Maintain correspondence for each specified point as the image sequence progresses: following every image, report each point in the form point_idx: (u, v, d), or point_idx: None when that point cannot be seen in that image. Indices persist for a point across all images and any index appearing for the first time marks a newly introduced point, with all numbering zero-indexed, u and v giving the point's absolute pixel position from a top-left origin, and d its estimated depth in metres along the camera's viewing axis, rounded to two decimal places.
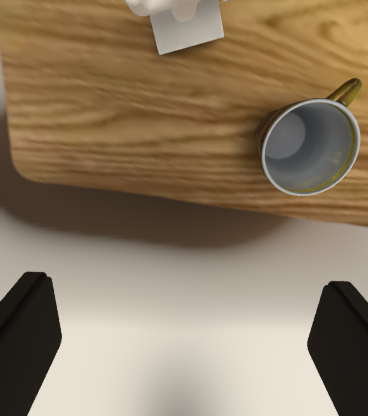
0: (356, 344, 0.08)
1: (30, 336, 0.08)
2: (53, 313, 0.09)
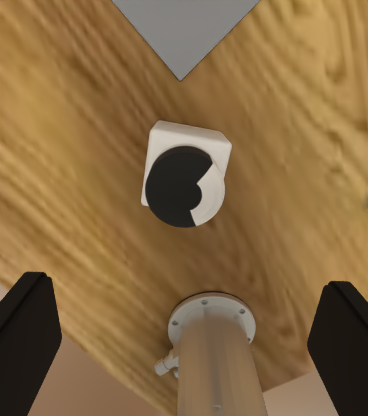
0: (356, 344, 0.08)
1: (31, 336, 0.08)
2: (53, 313, 0.09)
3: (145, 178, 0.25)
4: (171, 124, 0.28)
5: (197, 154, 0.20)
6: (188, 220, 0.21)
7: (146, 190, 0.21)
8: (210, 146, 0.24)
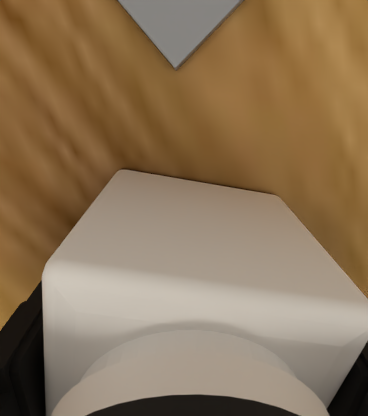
0: None
1: None
2: None
3: (48, 411, 0.07)
4: (150, 189, 0.10)
5: None
6: None
7: None
8: (295, 328, 0.06)
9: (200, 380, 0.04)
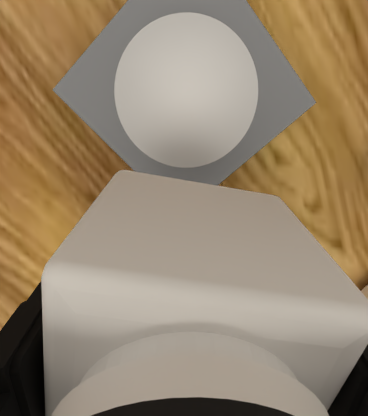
0: None
1: None
2: None
3: (47, 412, 0.07)
4: (150, 190, 0.10)
5: None
6: None
7: None
8: (296, 330, 0.06)
9: (200, 383, 0.04)
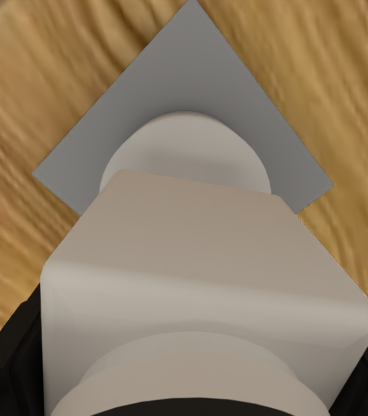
0: None
1: None
2: None
3: (46, 413, 0.07)
4: (150, 189, 0.10)
5: None
6: None
7: None
8: (297, 329, 0.06)
9: (201, 383, 0.04)
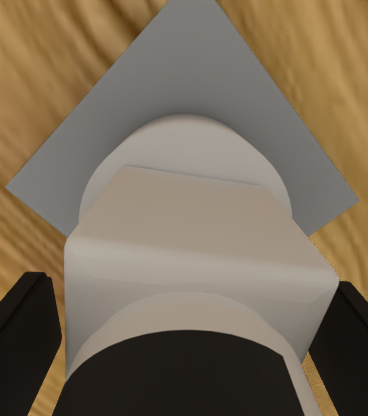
0: (356, 344, 0.08)
1: (30, 336, 0.08)
2: (53, 313, 0.09)
3: (68, 367, 0.08)
4: (150, 182, 0.11)
5: None
6: None
7: None
8: (269, 288, 0.07)
9: (190, 321, 0.06)
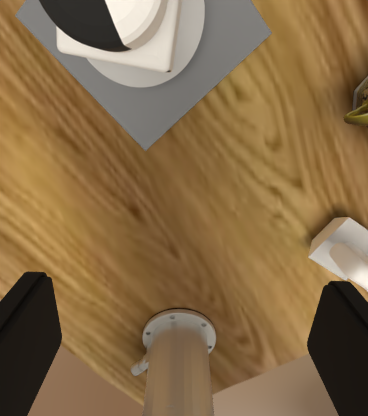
0: (356, 344, 0.08)
1: (30, 336, 0.08)
2: (53, 313, 0.09)
3: None
4: None
5: None
6: (104, 23, 0.13)
7: None
8: None
9: None
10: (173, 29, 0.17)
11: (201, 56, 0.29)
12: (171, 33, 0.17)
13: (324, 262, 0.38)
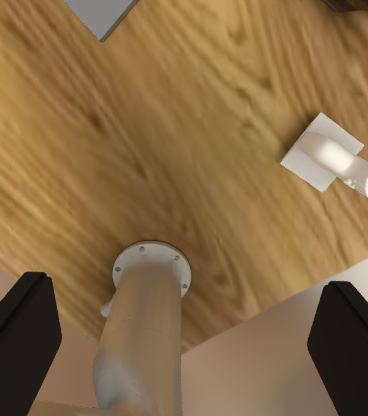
0: (356, 344, 0.08)
1: (30, 336, 0.08)
2: (53, 313, 0.09)
3: None
4: None
5: None
6: None
7: None
8: None
9: None
10: None
11: None
12: None
13: (298, 170, 0.35)
